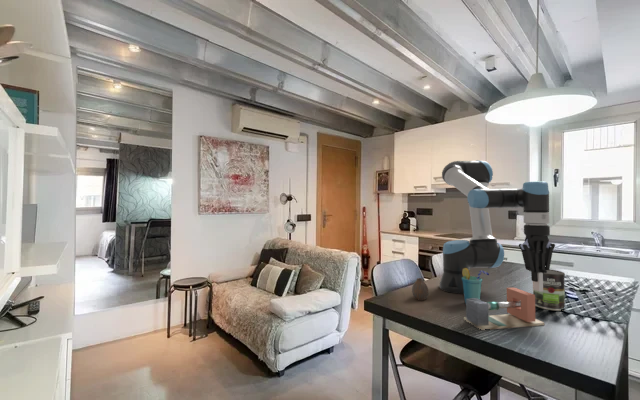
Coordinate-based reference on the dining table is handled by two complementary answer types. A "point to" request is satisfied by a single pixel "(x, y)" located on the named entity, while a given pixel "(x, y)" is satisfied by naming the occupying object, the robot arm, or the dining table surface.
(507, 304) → the grey block with rod
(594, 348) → the dining table surface
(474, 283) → the cup
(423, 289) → the vase
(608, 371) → the dining table surface
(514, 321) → the board
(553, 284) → the coffee can
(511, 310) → the pink slotted square
